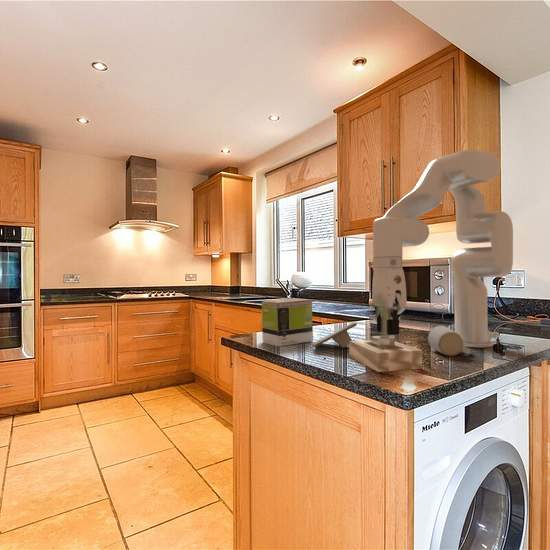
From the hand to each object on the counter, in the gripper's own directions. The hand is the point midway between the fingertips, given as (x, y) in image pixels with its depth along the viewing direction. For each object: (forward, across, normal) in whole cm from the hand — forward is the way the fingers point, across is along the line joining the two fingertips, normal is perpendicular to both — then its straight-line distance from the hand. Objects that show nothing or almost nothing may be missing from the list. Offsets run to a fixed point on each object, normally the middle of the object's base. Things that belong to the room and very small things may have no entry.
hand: (387, 332), depth 96 cm
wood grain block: (+3, 0, +2) cm, 3 cm away
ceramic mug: (+8, +4, -23) cm, 25 cm away
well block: (+8, 0, +1) cm, 8 cm away
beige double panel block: (+8, +21, +6) cm, 24 cm away
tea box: (+8, +34, +18) cm, 39 cm away
